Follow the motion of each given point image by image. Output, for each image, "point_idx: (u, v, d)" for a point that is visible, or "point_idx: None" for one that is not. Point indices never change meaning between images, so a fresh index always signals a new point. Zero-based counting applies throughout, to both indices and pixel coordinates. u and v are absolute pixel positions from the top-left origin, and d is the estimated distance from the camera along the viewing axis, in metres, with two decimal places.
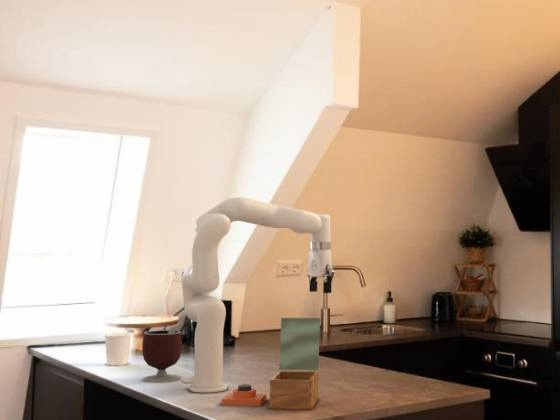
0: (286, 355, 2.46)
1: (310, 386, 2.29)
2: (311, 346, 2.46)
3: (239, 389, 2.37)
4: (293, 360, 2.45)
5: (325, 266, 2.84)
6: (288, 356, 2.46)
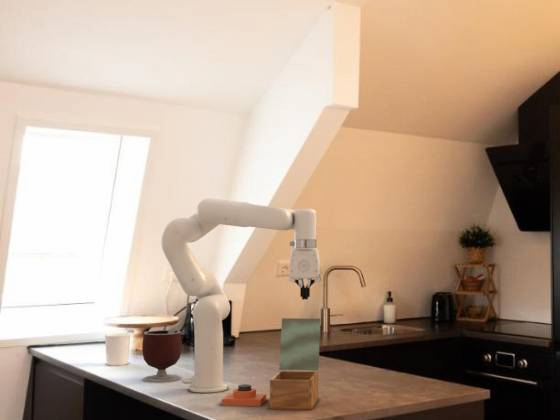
0: (286, 355, 2.46)
1: (310, 386, 2.29)
2: (311, 346, 2.47)
3: (239, 389, 2.37)
4: (293, 360, 2.46)
5: (319, 266, 2.57)
6: (288, 356, 2.46)
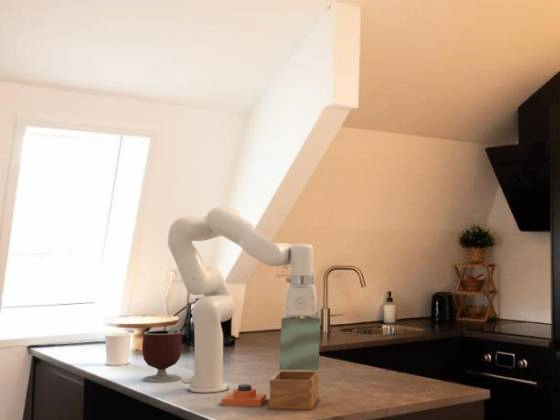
0: (286, 355, 2.46)
1: (310, 386, 2.29)
2: (311, 346, 2.46)
3: (239, 389, 2.37)
4: (293, 360, 2.46)
5: (316, 303, 2.50)
6: (288, 356, 2.46)
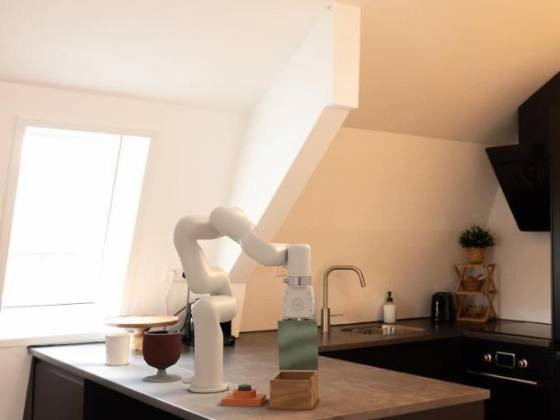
0: (285, 356, 2.44)
1: (310, 386, 2.29)
2: (310, 348, 2.43)
3: (239, 389, 2.37)
4: (292, 361, 2.44)
5: (314, 304, 2.44)
6: (287, 357, 2.44)
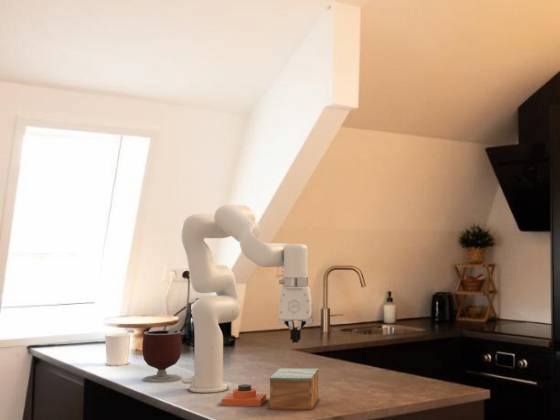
0: None
1: (310, 386, 2.29)
2: None
3: (239, 389, 2.37)
4: None
5: (311, 306, 2.37)
6: None
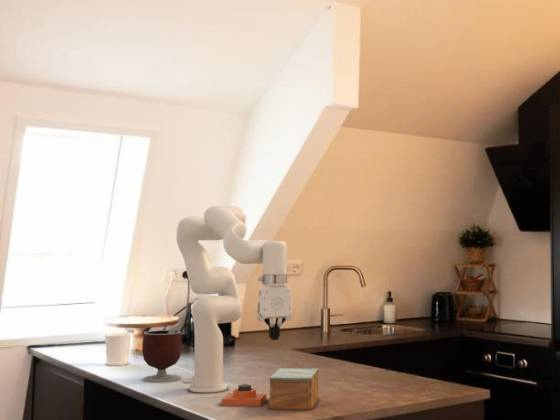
0: None
1: (310, 386, 2.29)
2: None
3: (239, 389, 2.37)
4: None
5: None
6: None
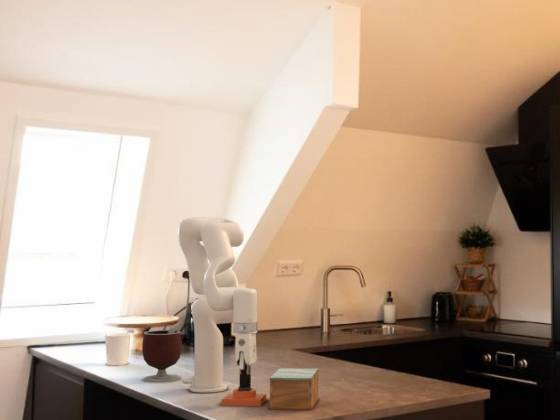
0: None
1: (310, 386, 2.29)
2: None
3: (239, 390, 2.37)
4: None
5: None
6: None
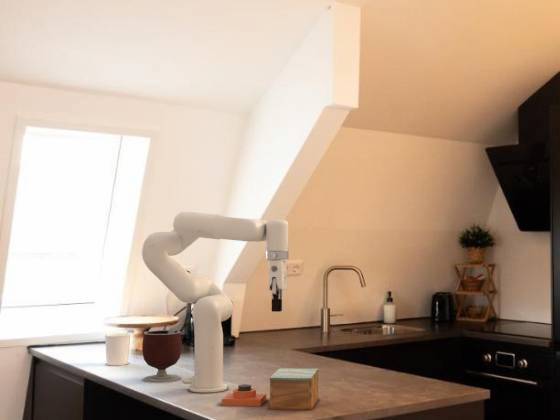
0: None
1: (310, 386, 2.29)
2: None
3: (239, 389, 2.37)
4: None
5: None
6: None
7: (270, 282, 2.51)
